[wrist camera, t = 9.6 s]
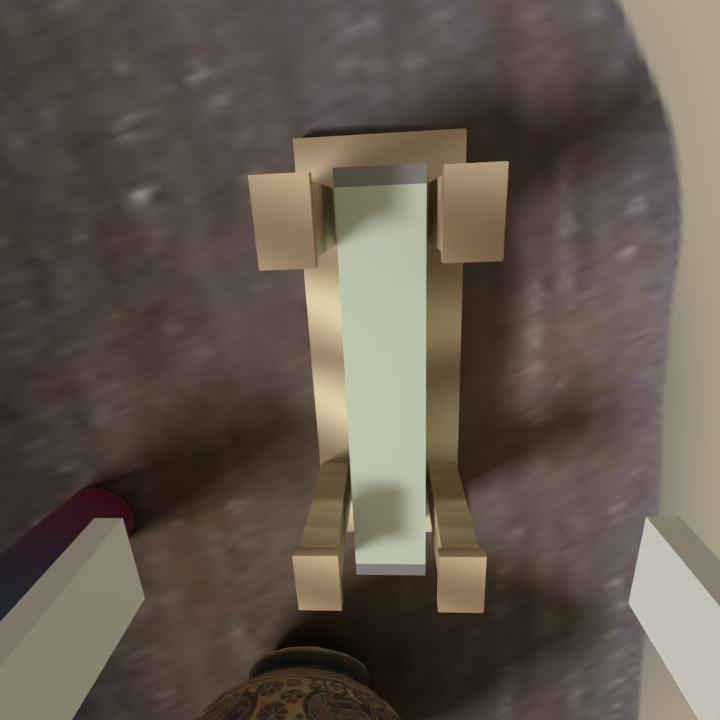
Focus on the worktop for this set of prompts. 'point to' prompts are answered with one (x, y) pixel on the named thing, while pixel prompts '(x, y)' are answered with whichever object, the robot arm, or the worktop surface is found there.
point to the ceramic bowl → (302, 689)
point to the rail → (385, 359)
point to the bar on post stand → (443, 337)
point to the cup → (54, 541)
